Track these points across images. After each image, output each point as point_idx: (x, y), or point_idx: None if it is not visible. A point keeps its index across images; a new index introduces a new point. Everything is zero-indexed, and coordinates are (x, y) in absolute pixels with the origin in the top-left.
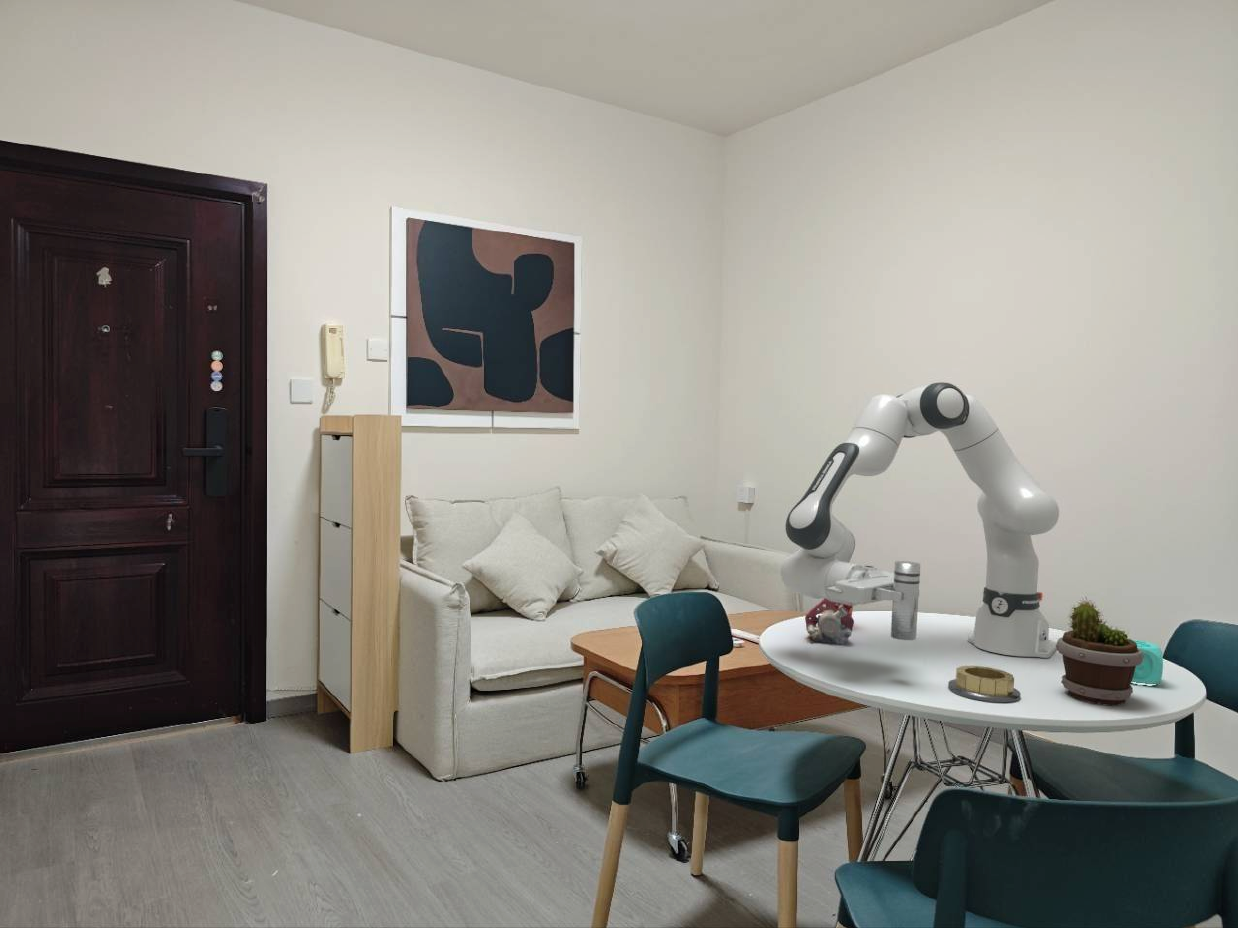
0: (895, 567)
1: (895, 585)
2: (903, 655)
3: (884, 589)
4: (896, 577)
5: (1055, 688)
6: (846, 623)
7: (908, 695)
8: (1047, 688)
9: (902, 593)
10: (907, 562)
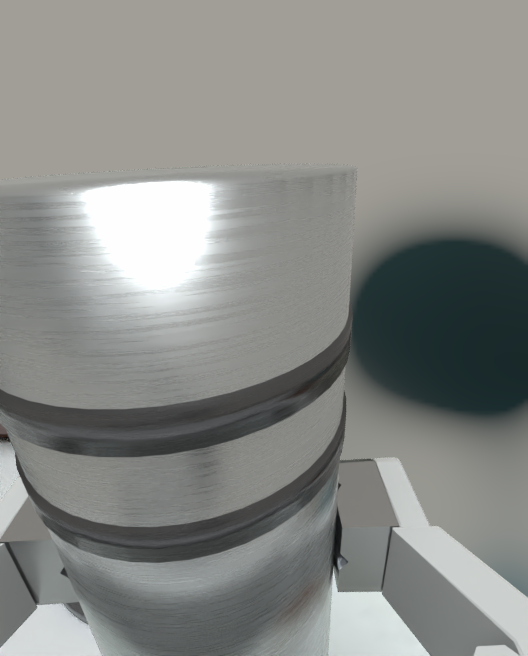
0: (319, 285)
1: (328, 506)
2: None
3: (505, 625)
4: (340, 406)
5: (4, 458)
6: None
7: (391, 650)
8: (14, 465)
9: (350, 460)
10: (87, 179)
